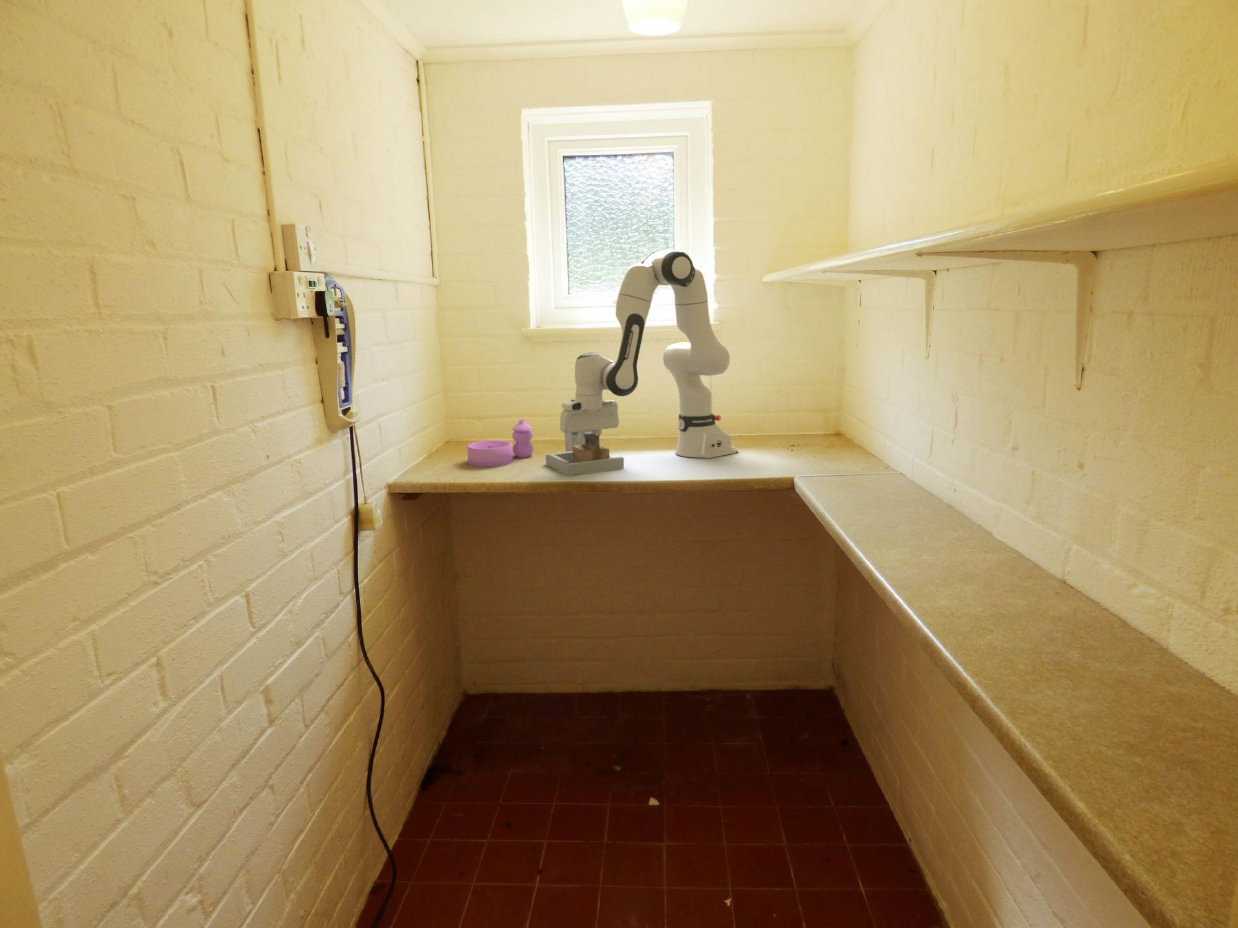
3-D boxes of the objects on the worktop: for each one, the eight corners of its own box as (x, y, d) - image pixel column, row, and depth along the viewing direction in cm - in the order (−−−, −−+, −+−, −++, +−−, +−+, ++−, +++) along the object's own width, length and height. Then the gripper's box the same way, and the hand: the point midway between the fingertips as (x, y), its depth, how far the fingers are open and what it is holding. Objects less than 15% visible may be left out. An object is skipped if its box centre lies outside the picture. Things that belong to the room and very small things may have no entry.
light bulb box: (591, 451, 265) (590, 422, 262) (599, 454, 259) (598, 424, 256) (564, 454, 260) (563, 424, 258) (571, 457, 254) (570, 427, 252)
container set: (482, 469, 239) (480, 430, 236) (460, 462, 251) (457, 425, 248) (544, 457, 255) (542, 421, 252) (520, 451, 267) (518, 416, 264)
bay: (599, 457, 253) (599, 446, 252) (623, 468, 237) (623, 456, 236) (546, 464, 245) (545, 452, 244) (567, 475, 228) (567, 463, 227)
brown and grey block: (594, 460, 249) (593, 430, 246) (609, 467, 238) (608, 436, 236) (573, 463, 245) (572, 432, 243) (587, 470, 235) (586, 438, 232)
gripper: (613, 398, 244) (614, 438, 247) (557, 404, 235) (558, 445, 239) (621, 400, 239) (622, 441, 242) (564, 406, 230) (566, 448, 233)
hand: (590, 443), depth 240 cm, fingers closed on brown and grey block, 2 cm apart
